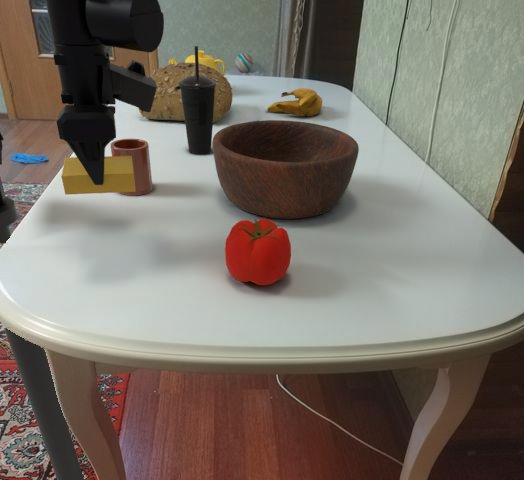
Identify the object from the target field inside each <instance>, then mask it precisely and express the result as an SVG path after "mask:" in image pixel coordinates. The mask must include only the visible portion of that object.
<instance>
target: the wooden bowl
mask: <svg viewBox="0 0 524 480" xmlns="http://www.w3.org/2000/svg"><path fill="white" fill-rule="evenodd" d="M211 145H212V152H213V159H214V165H215V170H216V174H217V179H218V181H219V184H220V187H221V188H222V190H223V193H224V194H225V196H226V197H227V199H228V200H229V201H230V202H231V203H232V204H233V205H234V206H236V207H237V208H239V209H240V210H242V211H245V212H246V213H250V214H254V215H255V216H256V215H257V216H261V217H265V218H271V219H284V220H285V219H286V220H289V219H291V220H294V219H295V220H296V219H305V218H312V217H316V216H319V215H322V214H324V213H326V212H328V211H330V210H331V209H332V208H334V207H335V206H336V205H337V204H338V203H339V202H340V200H341V199H342V197H343V196H344V194H345V193H346V191H347V189H348V187H349V184H350V182H351V179H352V177H353V174H354V171H355V167H356V163H357V160H358V156H359V151H360V147H359V144H358V142H357V140H355V138H354V137H352V136H351V135H350V134H348V133H345V132H344V131H341V130H339V129H336V128H332V127H330V126H326V125H322V124H317V123H311V122H304V121H298V120H296V121H295V120H282V119H270V120H269V119H266V120H252V121H244V122H240V123H235V124H232V125H231V124H230V125H229V126H226V127H223V128H222V129H220V130H218V131H217V132H216V133H215V134H214V135H213V136H212V142H211Z"/></svg>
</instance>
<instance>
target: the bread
mask: <svg viewBox="0 0 524 480" xmlns="http://www.w3.org/2000/svg"><path fill="white" fill-rule="evenodd" d="M220 72H221V71H220ZM220 72H218V71H217V70H215V69H213V68H211V67H209V66H205V65H202V64H199V75H200V76H205V77H207V78H209V79H211V80H213V81H215V82H216V87H215V96H214V111H213V123H216V122H219V121H220V120H222V119H223V118H224V117H225V116H227V114H228V113H229V112H230V110H231V107H232V104H233V94H234V93H233V91H232V90H233V88H232V85H231V83H230V82H229V80H228V81H227V80H226V78H227V77H226V76H225V75H224V76H222V72H221V73H220ZM193 75H196V71H195V63H185V61H184V62H183V61H181V62H179V63H178V64H174V63H173V64H172V63H170V64H169V63H168V64H167V65H164V66H162V67H159V68H157V69H154V70H153V72H152V73H151V74H150V75H149V76H148V77H152V79H153V80H155V82H156V85H157V89H156V93H155V97H154V101H153V104H152V108H151V112H145V111H142V110H140V109H139V108H138V111H139V113H140V115H141V116H143V117H144V118H147V119H150V120H160V121H161V120H162V121H182V122H185V118H184V110H183V103H182V95H181V88H180V86H179V81H181V80H183V79H185V78H186V77H189V76H193ZM225 77H226V78H225Z"/></svg>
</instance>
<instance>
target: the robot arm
mask: <svg viewBox="0 0 524 480" xmlns="http://www.w3.org/2000/svg"><path fill="white" fill-rule="evenodd" d="M45 4H46V9H47V16H48V22H49V26H50V32H51V37H52V42H53V43H52V44H53V49H54V53H53V61H54V65H55V66H57V71H58V75H59V76H58V77H59V81H60V86H61V92H60V99H61V104H62V105H64V106H63V108H61V110H60V111H59V113H58V115H57V119H56V126H57V131H58V136H59V139H60V140H61V141H62V140H63V141H64V142H66V143H67V145H68V147H70V150H72V152H73V153H74V155H75V157H77V158H78V159H79V161H80V162H81V164H82V165H83V167H84V168H85V170H86V172H87V173H88V175H89V176H90V178H91V179H92V181H93V183H94V184H95V185H103V182H104V159H105V157H106V148H107V146H108V145H109V144H111V143H112V142H113V141H115V139H116V138H117V128H116V127H117V126H116V118H115V114H116V106H115V105H116V100H117V101H119V102H122V103H125V104H128V105H131V106H133V107H136V108H138V110H139V109H140V110H142V111H145V112H151V108H152V104H153V101H154V97H155V93H156V89H157V85H156V82H155V80H153V79H152V77H149V76H147V74H146V70H145V66H144V65H145V64H144V63H141V62H139V61H137V60H134V59H132V60H131V61H130V62H129V63H128V64H127V65H126V67H124V66H123V65H120V66H119V65H117V64H114V63H111V59H110V52H109V51H107V48H106V47H111V48H117V49H122V50H123V49H124V50H130V51H136V52H144V53H153V52H155V51H156V50H157V49H158V47H159V46H160V44H161V42H162V38H163V36H164V30H165V17H164V12H162V9H161V5H160V3H159V0H45ZM3 141H4V137H3V135H2V132H1V131H0V166H2V165H3ZM4 188H5V187H4V184H3V182H2V179H1V177H0V212H1V210H2V207H3V205H4V203H5V201H6V197H7V196H6V193H5V189H4Z"/></svg>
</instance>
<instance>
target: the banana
mask: <svg viewBox="0 0 524 480" xmlns="http://www.w3.org/2000/svg"><path fill="white" fill-rule="evenodd" d="M289 96H294V98H295V100H282V101H276V102H274V103H272V104H271V105H269V106H268V107H267V112H274V113H285V114H290V115H295V116H300V117H313V116H315V115H318V114H319V113H320V111H321V109H322V107H323V98H322V97H321V95H319V94H318V93H317V91H315V90H313V89H311V88H305V87H304V88H302V87H301V88H296V89H294V90H291V91H288V92H287V91H284V92H282V93H281V96H280V97H281V98H284V97H289Z"/></svg>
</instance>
